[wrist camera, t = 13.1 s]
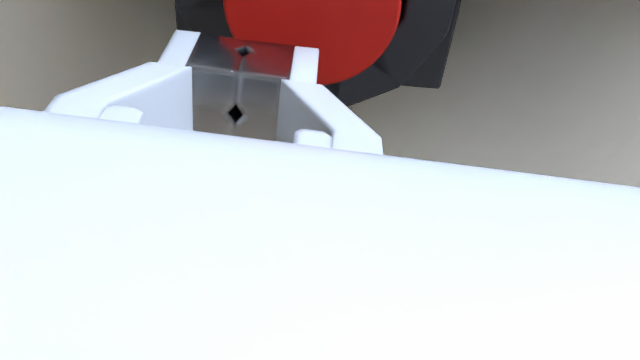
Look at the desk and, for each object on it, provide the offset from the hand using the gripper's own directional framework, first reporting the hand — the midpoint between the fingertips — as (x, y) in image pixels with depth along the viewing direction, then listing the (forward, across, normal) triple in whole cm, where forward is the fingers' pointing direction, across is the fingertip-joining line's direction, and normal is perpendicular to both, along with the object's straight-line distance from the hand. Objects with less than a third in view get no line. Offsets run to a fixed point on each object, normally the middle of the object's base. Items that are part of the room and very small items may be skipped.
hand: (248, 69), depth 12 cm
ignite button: (+3, -1, -1) cm, 4 cm away
